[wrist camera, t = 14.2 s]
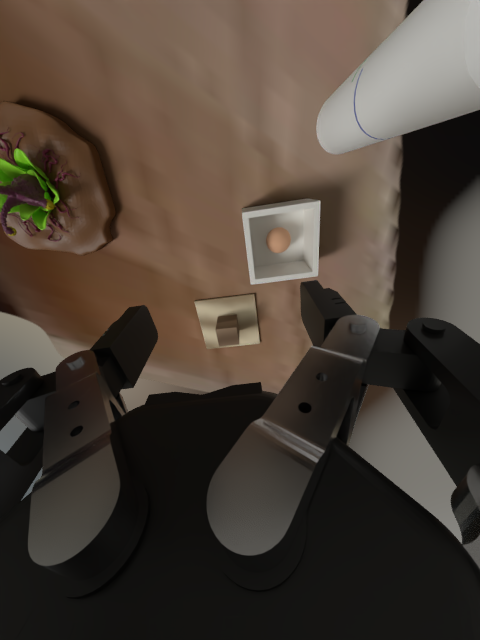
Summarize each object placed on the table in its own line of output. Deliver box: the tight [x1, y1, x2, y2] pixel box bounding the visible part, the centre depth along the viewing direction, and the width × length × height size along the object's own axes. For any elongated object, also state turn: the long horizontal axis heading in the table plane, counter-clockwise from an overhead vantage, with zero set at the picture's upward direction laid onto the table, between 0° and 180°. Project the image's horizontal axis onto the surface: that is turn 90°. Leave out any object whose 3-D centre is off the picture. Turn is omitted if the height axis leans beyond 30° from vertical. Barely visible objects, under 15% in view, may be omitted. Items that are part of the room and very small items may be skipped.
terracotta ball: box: [266, 227, 291, 253], centre depth 37 cm, size 4×4×4 cm
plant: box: [0, 101, 116, 256], centre depth 32 cm, size 20×20×11 cm
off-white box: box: [242, 198, 321, 285], centre depth 37 cm, size 11×11×7 cm
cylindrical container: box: [316, 0, 480, 154], centre depth 21 cm, size 7×7×25 cm
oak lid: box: [194, 293, 260, 349], centre depth 46 cm, size 12×12×6 cm
